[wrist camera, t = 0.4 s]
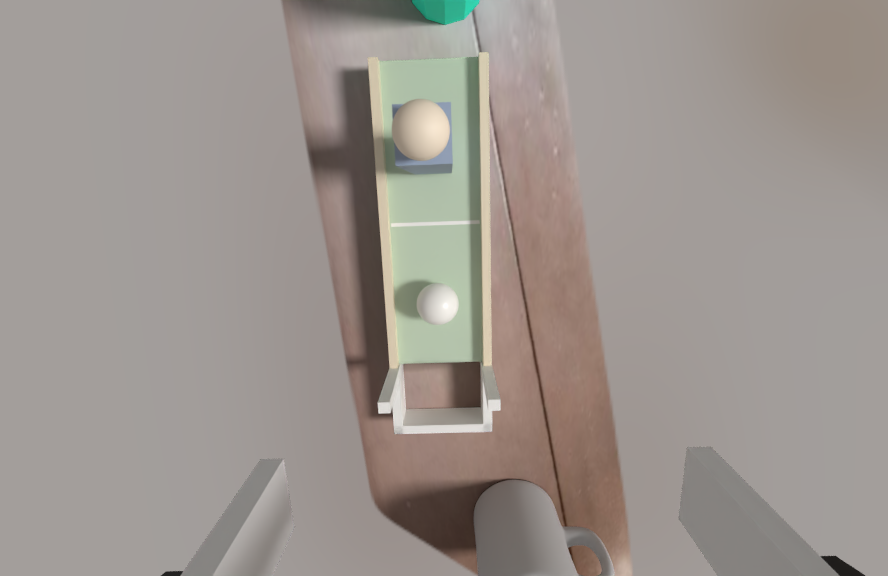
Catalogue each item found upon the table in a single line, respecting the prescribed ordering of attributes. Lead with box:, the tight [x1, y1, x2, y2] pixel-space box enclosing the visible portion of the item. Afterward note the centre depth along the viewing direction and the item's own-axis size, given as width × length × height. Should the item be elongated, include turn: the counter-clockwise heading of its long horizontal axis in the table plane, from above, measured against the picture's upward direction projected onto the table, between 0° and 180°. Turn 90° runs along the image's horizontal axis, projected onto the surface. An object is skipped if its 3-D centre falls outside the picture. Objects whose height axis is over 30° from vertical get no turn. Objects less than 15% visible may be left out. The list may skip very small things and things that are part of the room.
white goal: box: [378, 361, 500, 434], centre depth 36 cm, size 6×9×9 cm
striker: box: [392, 99, 453, 174], centre depth 26 cm, size 3×3×15 cm
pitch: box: [368, 52, 492, 369], centre depth 35 cm, size 25×9×3 cm, turn 2°
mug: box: [474, 480, 615, 576], centre depth 38 cm, size 12×8×11 cm
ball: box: [417, 283, 459, 325], centre depth 34 cm, size 4×4×4 cm
